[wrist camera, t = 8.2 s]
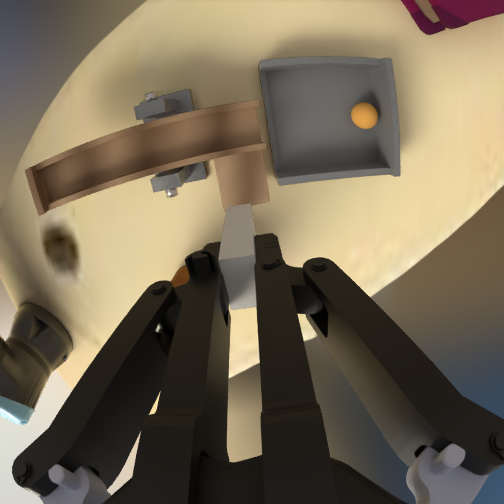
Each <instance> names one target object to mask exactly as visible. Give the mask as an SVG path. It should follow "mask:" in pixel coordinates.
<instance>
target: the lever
mask: <svg viewBox="0 0 504 504" xmlns="http://www.w3.org/2000/svg"><path fill="white" fill-rule="evenodd" d="M256 106H260V105H259V100H255V101H247V102H240V103H234V104H227V105H221V106H216V107H210V108H205V109H200V110H195V111H191V112H186V113H182V114H178V115H174V116H169V117H166V118H162V119H158V120H154V121H151V122H147V123H144V124H140V125H137V126H133V127H130V128H127V129H124V130H121V131H118V132H115V133H112V134H109V135H106V136H103V137H101V138H98V139H95V140H92V141H90V142H87V143H85V144H82V145H80V146H77V147H75V148H72V149H70V150H67V151H65V152H63V153H61V154H58V155H56V156H54V157H52V158H49V159H47V160H45V161H43V162H41V163H39V164H37V165H35V166H32V167H30V168H28V169H26V170H25V172H26V176H27V179H28V183H29V186H30V190H31V193H32V196H33V199H34V202H35V205H36V208H37V211H38V214H39V216H40V215H42V214H45V213H46V212H47V211H48V210H51V209H53V208H56V207H58V206H61V205H63V204H66V203H68V202H71V201H73V200H76V199H79V198H81V197H84V196H87V195H90V194H92V193H95V192H98V191H101V190H104V189H107V188H110V187H113V186H116V185H119V184H122V183H125V182H128V181H132V180H135V179H138V178H142V177H145V176H148V175H152V174H155V173H159V172H163V171H166V170H170V169H174V168H178V167H182V166H186V165H190V164H194V163H198V162H202V161H206V160H211V159H214V163H215V168H216V173H217V178H218V183H219V188H220V193H221V198H222V203H223V208H224V210H225V212H226V209H227V207H231V206H238V205H244V204H250V203H251V205H255V204H260V203H264V202H268V201H270V198H269V191H268V184H267V177H266V170H265V163H264V157H263V150H262V149H266V143H264V142H261V137H260V130H259V124H258V118H257V112H256Z"/></svg>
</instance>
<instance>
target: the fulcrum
mask: <svg viewBox="0 0 504 504" xmlns="http://www.w3.org/2000/svg"><path fill="white" fill-rule="evenodd" d="M144 96H145V101H144V102H141V103H140V105H138V106H135V107H134V109H135V114H136V119H137V120H141V119H143V121H144V123H147V122H151V121H154V120H158V119H162V118H166V117H169V116H174V115H178V114H182V113H186V112H191V111H194V109H193V103H192V98H191V92H190V89H187V90H183V91H179V92H175V93H171V94H167V95H164V96H160V97H157V94H156V92H150V93H147V94H145V95H144ZM155 174H156V175H155V176H154V177H153V178H151V179H150V180H151V184H152V188H153V192H158V191H162V190H165V192H166V195H167V198H170V197H174V196H176V195H178V192H177V188H176V187H181V186H182V185H183V184H184V183H187V182H192V181H197V180H203V179H207V175H206V170H205V165H204V161H202V162H198V163H194V164H190V165H186V166H182V167H178V168H174V169H170V170H166V171H163V172H159V173H155Z"/></svg>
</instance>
